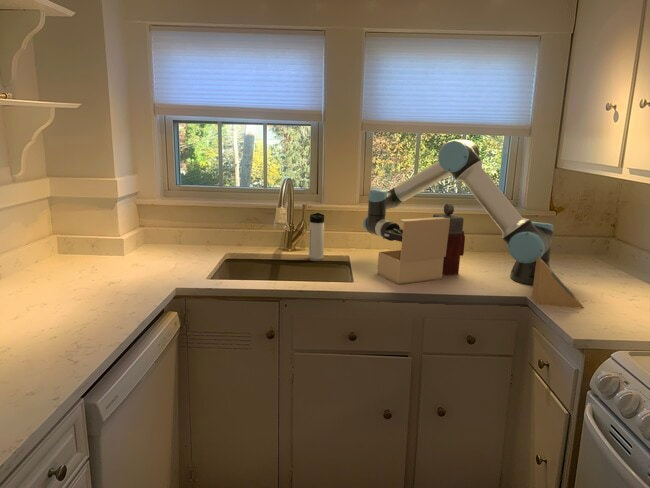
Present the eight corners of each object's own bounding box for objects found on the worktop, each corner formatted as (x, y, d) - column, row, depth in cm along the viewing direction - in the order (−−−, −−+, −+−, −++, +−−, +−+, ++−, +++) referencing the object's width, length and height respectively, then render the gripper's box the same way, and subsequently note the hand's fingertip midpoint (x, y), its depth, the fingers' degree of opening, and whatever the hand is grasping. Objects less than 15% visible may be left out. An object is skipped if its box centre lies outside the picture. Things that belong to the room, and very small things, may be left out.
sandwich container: (585, 309, 164) (592, 265, 161) (536, 304, 167) (542, 261, 164) (577, 300, 172) (584, 259, 169) (531, 296, 175) (536, 255, 172)
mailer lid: (398, 218, 180) (404, 221, 176) (443, 216, 189) (450, 218, 185) (394, 258, 184) (401, 261, 180) (438, 253, 193) (445, 256, 189)
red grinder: (463, 274, 200) (470, 205, 194) (438, 275, 197) (444, 205, 190) (452, 268, 208) (458, 202, 202) (428, 269, 205) (433, 202, 199)
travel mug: (323, 257, 218) (325, 213, 214) (322, 261, 212) (323, 215, 208) (309, 257, 219) (310, 212, 214) (307, 260, 213) (308, 215, 208)
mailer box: (377, 274, 196) (378, 252, 194) (418, 269, 205) (420, 248, 203) (398, 284, 183) (400, 261, 181) (441, 279, 192) (443, 256, 190)
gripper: (400, 238, 208) (435, 251, 187) (373, 240, 202) (406, 253, 182) (401, 220, 206) (437, 231, 185) (375, 222, 201) (408, 234, 180)
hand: (422, 242), depth 183 cm, fingers closed
